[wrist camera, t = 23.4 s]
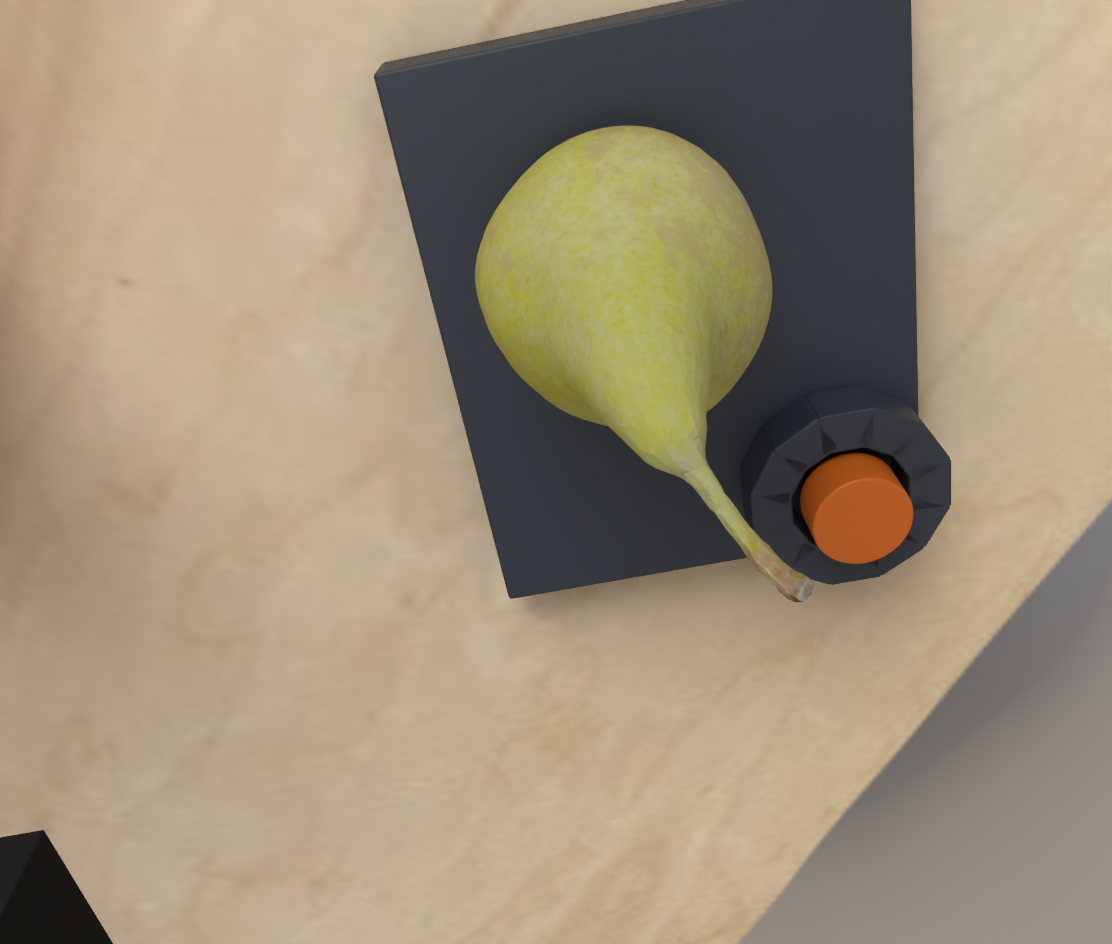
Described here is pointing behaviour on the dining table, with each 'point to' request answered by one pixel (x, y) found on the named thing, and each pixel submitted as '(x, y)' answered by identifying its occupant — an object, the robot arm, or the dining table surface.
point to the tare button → (856, 508)
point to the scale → (790, 241)
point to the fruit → (634, 299)
